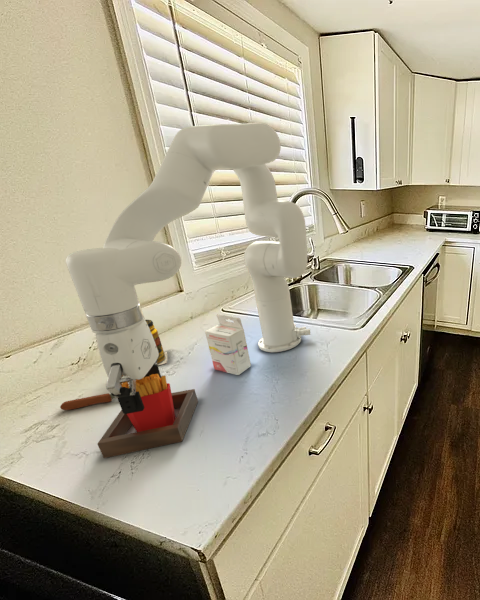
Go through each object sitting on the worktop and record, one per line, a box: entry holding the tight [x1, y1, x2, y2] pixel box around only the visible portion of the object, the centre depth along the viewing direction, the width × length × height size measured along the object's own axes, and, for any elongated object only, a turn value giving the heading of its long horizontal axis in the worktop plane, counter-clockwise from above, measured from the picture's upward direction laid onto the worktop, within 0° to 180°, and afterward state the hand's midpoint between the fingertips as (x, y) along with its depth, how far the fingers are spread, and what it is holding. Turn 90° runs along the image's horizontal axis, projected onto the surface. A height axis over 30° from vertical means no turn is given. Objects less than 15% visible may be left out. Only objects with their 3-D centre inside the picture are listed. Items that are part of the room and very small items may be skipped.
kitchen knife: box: [59, 392, 116, 411], centre depth 75 cm, size 16×1×2 cm, turn 111°
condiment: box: [145, 319, 168, 366], centre depth 89 cm, size 7×8×12 cm
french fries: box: [122, 374, 177, 432], centre depth 66 cm, size 8×4×12 cm, turn 115°
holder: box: [97, 388, 199, 459], centre depth 67 cm, size 13×13×4 cm
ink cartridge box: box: [204, 313, 252, 376], centre depth 85 cm, size 9×5×15 cm, turn 71°
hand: (144, 396), depth 65 cm, fingers open, 9 cm apart
